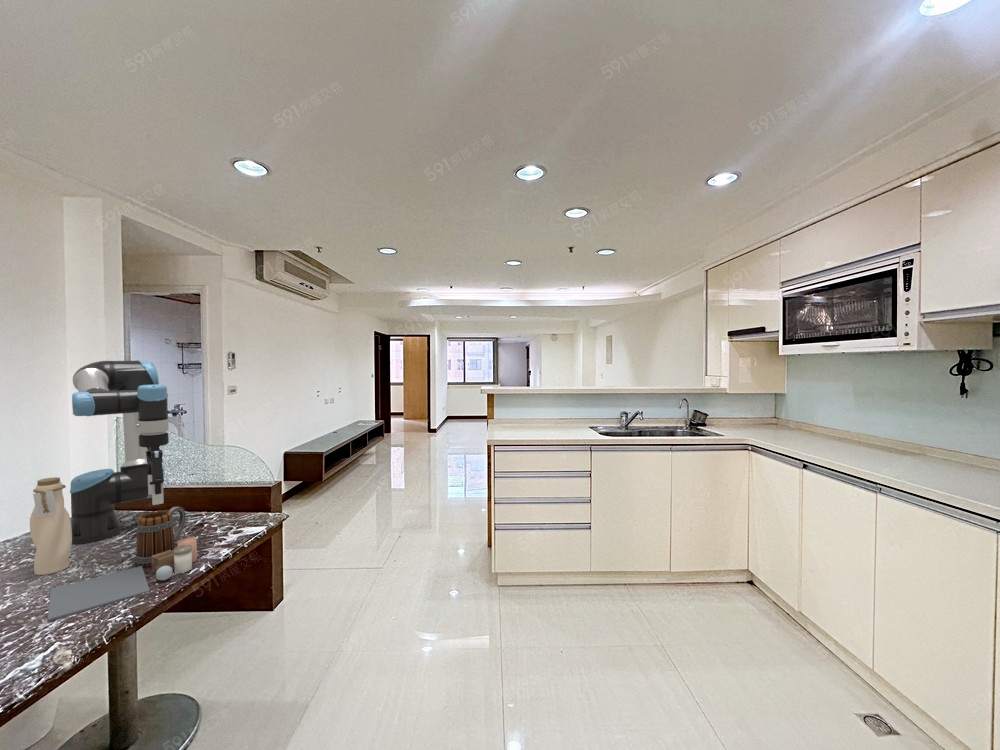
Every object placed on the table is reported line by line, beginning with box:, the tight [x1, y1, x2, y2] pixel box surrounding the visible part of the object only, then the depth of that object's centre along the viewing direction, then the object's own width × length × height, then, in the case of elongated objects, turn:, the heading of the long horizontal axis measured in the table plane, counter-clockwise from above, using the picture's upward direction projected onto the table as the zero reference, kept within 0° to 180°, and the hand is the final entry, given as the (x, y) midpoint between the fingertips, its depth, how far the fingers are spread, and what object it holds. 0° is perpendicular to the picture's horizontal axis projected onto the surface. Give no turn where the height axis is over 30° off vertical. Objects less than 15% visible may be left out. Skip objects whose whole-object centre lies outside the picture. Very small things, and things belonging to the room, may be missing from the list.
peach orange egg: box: [176, 536, 198, 563], centre depth 142 cm, size 5×5×7 cm
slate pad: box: [47, 566, 151, 623], centre depth 124 cm, size 20×20×1 cm
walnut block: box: [151, 550, 174, 574], centre depth 137 cm, size 5×5×5 cm
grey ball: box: [155, 566, 174, 582], centre depth 131 cm, size 4×4×4 cm
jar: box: [173, 545, 193, 574], centre depth 137 cm, size 5×5×7 cm
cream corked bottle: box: [29, 476, 73, 576], centre depth 136 cm, size 10×9×28 cm
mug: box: [134, 506, 187, 568], centre depth 146 cm, size 16×11×15 cm
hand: (155, 498), depth 143 cm, fingers open, 13 cm apart
